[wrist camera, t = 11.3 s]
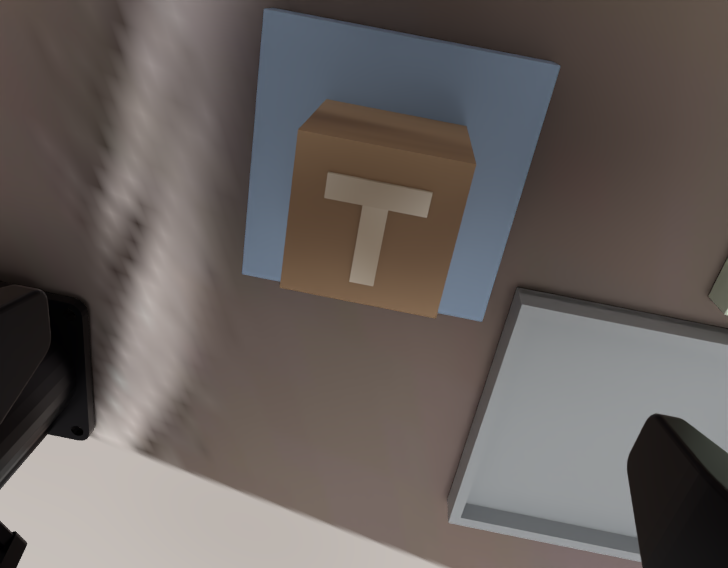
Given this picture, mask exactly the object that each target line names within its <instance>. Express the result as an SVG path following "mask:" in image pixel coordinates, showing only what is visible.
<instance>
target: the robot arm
mask: <svg viewBox="0 0 728 568" xmlns="http://www.w3.org/2000/svg"><path fill="white" fill-rule="evenodd" d="M68 309H70V310H72V311H73V312H74V313H75V315H76V316H75V315H73V314H71V313H70V312H69V310H68ZM79 427H80V428H79ZM93 430H94V411H93V393H92V375H91V357H90V339H89V321H88V310H87V307H86V306H85V304H84V303H83V302H81V301H80V300H78V299H76V298H72V297H67V296H62V295H57V294H52V293H47V292H43V291H42V290H40V289H36V288H31V287H26V286H21V285H15V284H10V283H5V282H0V489H1V488H2V487H3V486H4V484H5V483H6V482H7V481H8V480H9V479H10V477H11V476H12V475H13V474H14V473H15V471H16V470H17V469H18V468H19V467H20V466H21V465H22V463H23V462H24V461H25V460H26V459H27V457H28V456H29V455H30V454H31V453H32V452H33V450H34V449H35V448H36V447H37V446H38V445H39V443H40V442H41V441H42V440H43V439H44V438H45V436H46V435H47V434H50V435H55V436H60V437H65V438H69V439H74V440H85V439H87V438H88V437H89V436H90V434H91V433H92V432H93ZM627 475H628V481H629V488H630V494H631V500H632V507H633V513H634V519H635V526H636V532H637V538H638V545H639V551H640V557H641V562H642V567H643V568H728V453H727V452H726V451H725V450H723V449H722V448H721V447H719V446H718V445H717V444H715V443H714V442H713V441H711V440H710V439H709V438H707V437H706V436H705V435H704V434H702V433H701V432H700V431H698V430H697V429H696V428H694V427H693V426H692V425H690V424H689V423H688V422H686V421H685V420H683V419H681V418H678V417H673V416H668V415H663V414H658V413H655V414H653V415H650V416H649V417H648V418H647V420H646V421H645V423H644V425H643V427H642V429H641V431H640V433H639V435H638V437H637V439H636V441H635V443H634V445H633V447H632V449H631V451H630V453H629V456H628V460H627ZM26 546H27V542H26V541H25V540H24V539H23V538H22V537H21V536H20V535H19V534H18V533H17V532H16V531H15V532H11V531H10V530H9V529H8V528H7V527H6V526H5V525H4V524H3V523H2V522H1V521H0V568H16V567H17V565H18V563H19V561H20V559H21V556H22V554H23V552H24V550H25V548H26Z"/></svg>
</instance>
